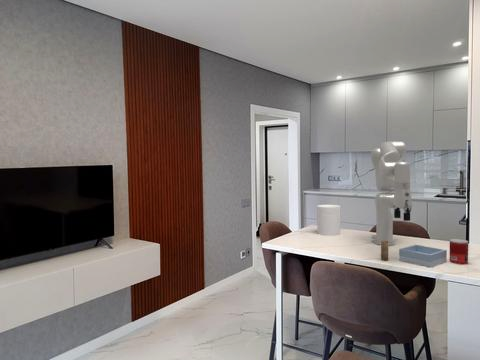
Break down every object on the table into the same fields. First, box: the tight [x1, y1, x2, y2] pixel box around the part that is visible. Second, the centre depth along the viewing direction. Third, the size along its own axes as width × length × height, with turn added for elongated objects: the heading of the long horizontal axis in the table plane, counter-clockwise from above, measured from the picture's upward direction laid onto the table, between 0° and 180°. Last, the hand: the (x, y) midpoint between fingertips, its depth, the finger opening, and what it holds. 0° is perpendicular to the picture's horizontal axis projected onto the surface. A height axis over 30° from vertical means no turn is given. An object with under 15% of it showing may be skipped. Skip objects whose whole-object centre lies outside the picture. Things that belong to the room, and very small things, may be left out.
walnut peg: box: [380, 240, 389, 262], centre depth 186 cm, size 4×4×10 cm
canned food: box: [449, 238, 469, 265], centre depth 180 cm, size 8×8×11 cm
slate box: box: [398, 244, 448, 268], centre depth 183 cm, size 16×16×6 cm
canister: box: [316, 204, 341, 237], centre depth 257 cm, size 16×16×20 cm
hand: (402, 219), depth 185 cm, fingers open, 9 cm apart
